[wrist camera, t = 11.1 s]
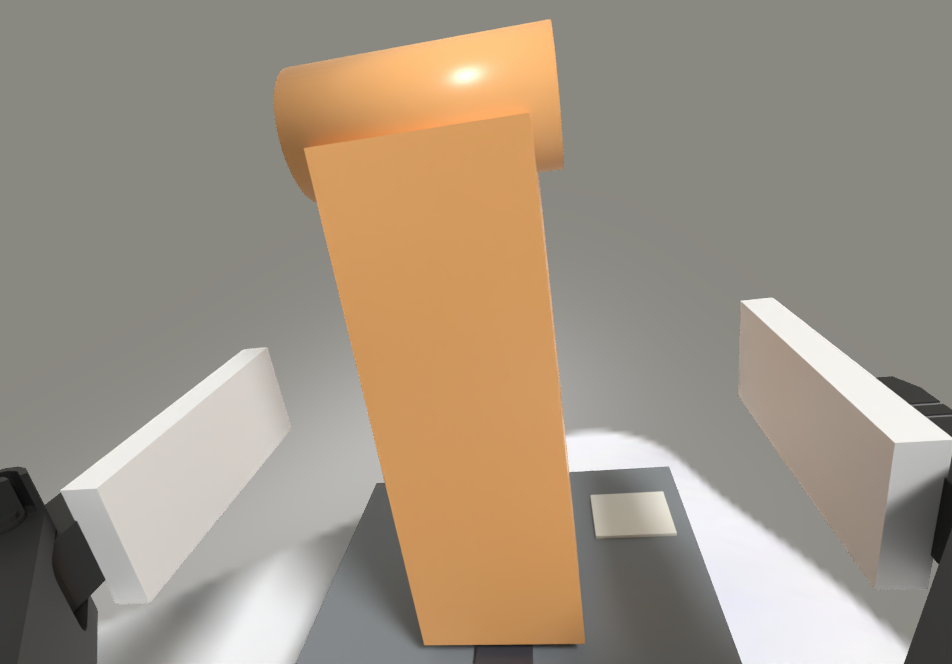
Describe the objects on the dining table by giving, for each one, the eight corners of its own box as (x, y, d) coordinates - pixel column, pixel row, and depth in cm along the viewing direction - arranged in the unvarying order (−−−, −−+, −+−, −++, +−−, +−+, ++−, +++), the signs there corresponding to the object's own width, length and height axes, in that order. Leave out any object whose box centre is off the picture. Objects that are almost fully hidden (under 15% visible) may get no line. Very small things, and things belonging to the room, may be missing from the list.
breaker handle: (404, 645, 14) (253, 60, 9) (427, 557, 17) (319, 73, 12) (606, 643, 13) (551, 3, 8) (594, 551, 16) (548, 32, 11)
